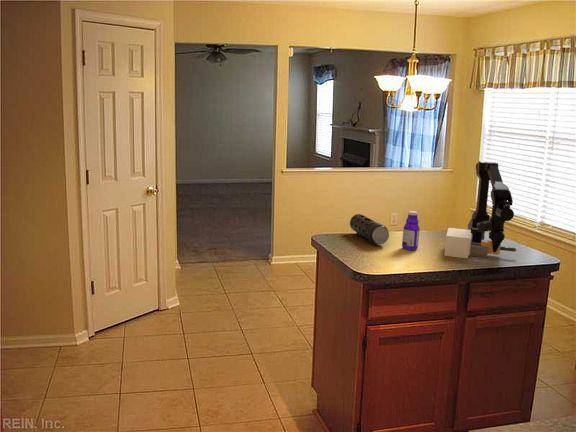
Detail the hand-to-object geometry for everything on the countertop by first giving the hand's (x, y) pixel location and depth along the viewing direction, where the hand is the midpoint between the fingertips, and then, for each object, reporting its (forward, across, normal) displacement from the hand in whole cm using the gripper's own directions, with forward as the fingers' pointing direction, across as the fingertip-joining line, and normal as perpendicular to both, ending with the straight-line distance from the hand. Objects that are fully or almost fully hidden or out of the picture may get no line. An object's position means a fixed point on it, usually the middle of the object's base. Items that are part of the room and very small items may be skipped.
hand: (494, 250), depth 261 cm
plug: (+1, 0, +2) cm, 2 cm away
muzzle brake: (+3, -4, -57) cm, 57 cm away
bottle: (+3, +4, -36) cm, 37 cm away
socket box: (+2, 0, -12) cm, 12 cm away
